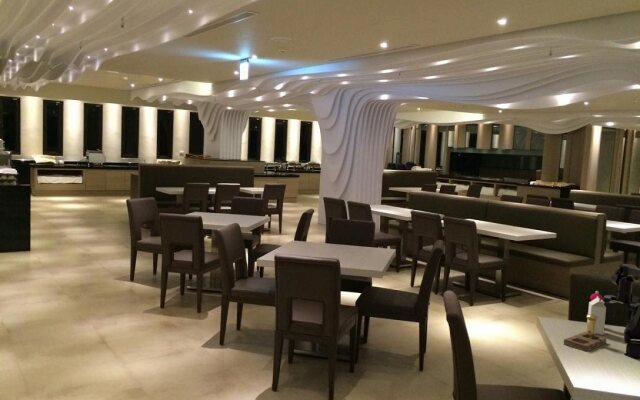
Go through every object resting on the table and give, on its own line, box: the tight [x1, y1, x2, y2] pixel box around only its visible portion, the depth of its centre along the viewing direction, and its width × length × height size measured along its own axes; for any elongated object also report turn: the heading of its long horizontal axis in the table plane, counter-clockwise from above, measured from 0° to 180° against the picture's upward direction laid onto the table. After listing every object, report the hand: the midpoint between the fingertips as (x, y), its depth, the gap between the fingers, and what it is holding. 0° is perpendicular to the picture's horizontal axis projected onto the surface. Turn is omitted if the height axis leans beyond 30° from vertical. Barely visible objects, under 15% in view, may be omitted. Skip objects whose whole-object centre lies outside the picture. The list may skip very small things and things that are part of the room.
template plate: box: [563, 331, 607, 352], centre depth 270 cm, size 22×11×2 cm, turn 129°
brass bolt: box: [586, 313, 598, 340], centre depth 273 cm, size 5×5×14 cm
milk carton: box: [587, 296, 607, 335], centre depth 290 cm, size 7×7×19 cm
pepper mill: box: [586, 290, 603, 319], centre depth 301 cm, size 7×7×20 cm
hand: (621, 319), depth 271 cm, fingers open, 9 cm apart
